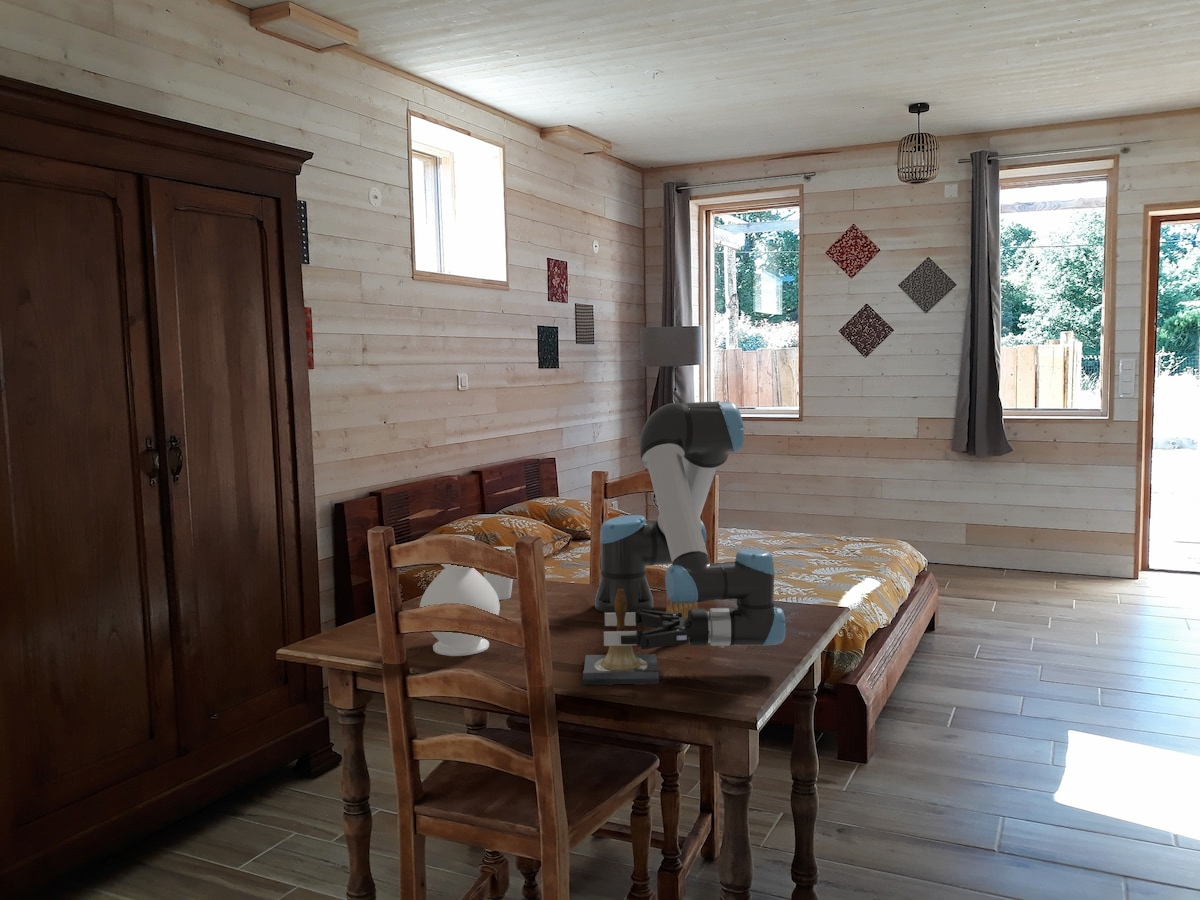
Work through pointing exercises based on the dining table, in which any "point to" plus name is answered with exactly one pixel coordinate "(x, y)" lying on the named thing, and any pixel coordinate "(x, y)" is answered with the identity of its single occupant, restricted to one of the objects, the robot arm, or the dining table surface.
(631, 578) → the robot arm
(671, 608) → the ammunition clip
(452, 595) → the decorative vase
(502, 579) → the foam cup
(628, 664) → the hand bell
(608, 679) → the plate
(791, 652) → the dining table surface
